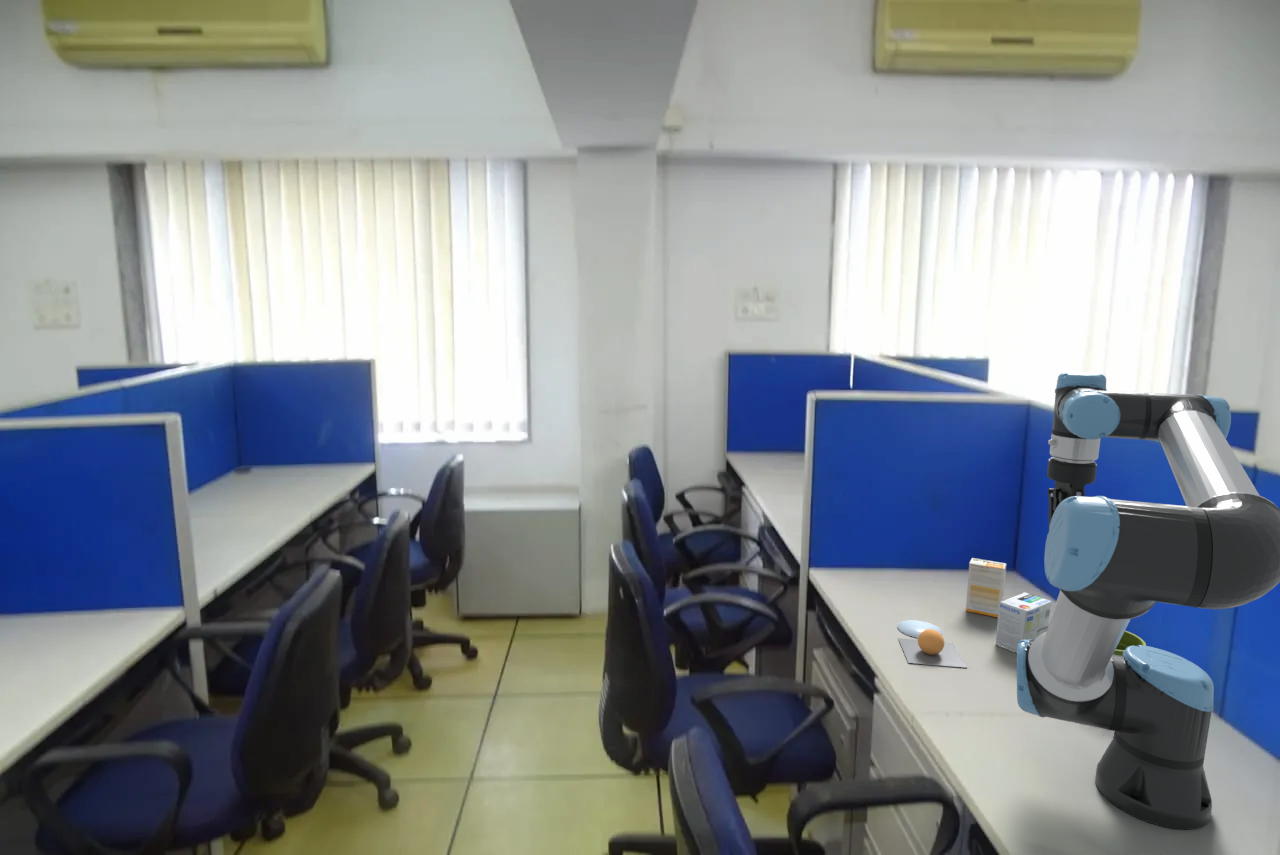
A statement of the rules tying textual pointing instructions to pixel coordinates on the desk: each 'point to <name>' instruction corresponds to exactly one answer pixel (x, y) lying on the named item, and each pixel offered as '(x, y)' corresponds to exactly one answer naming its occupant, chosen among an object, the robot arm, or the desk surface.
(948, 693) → the desk surface
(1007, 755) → the desk surface
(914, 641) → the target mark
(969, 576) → the supplement box
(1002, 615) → the light bulb box
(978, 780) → the desk surface
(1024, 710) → the robot arm
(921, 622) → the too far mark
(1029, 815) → the desk surface
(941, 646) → the ball
